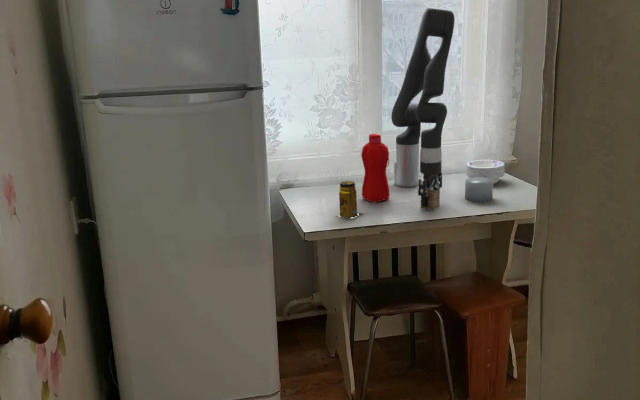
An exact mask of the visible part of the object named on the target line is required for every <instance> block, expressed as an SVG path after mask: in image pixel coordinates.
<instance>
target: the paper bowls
mask: <svg viewBox="0 0 640 400" xmlns="http://www.w3.org/2000/svg"><path fill="white" fill-rule="evenodd" d="M465 167H466V169H465V171H466V172H465V174H466V176H467V177H468V178H476V177H480V178H488V179H491V180H493V185H494V184H497V183H498V182H499V181H500V178H502V177H504V176H505V173H506V172H505V170H506V169H505V167H506V164H505V162H502V161H501V160H496V159H479V160H478V159H477V160H476V159H475V160H471V161H468V162H466V164H465Z"/></svg>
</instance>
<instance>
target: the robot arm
mask: <svg viewBox="0 0 640 400" xmlns="http://www.w3.org/2000/svg"><path fill="white" fill-rule="evenodd" d="M455 19H456V17H455V13H454V12H453V11H452V10H449V9H442V8H441V9H440V8H432V7H430V8H429V7H428V8H426V9H424V11H423V13H422V16H421V19H420V23H419V27H418V32H417V36H416V40H415V43H414V47H413V51H412V54H411V56H410V60H409V62H408V65H407V68H406V71H405V75H404V78H403V82H402V85H401V89H400V91H399V94H398V96H397V97H396V100H395V102H394V105H393V107H392V111H391V122H392V124H393V126H394V127H397V128H406V129H405V131H403V132H402V133H400V134H398V135H397V136H396V138H395V161H394V162H393V177H394V178H393V184H394V185H397V186H399V187H404V188H405V187H406V188H409V187H417V186H418V189H417V190H418V191H417V194H418V196H420V197H421V196H422V206H423V207H427V206H428V195H429V192H430V191H431V189H433V190H440V191H441V188H443V172H442V165H443V164H442V163H443V161H442V160H443V159H442V156H443V153H442V134H443V130H444V129H443V128H444V125H445V121H446V118H447V114H448V108H447V106H446V104H445V103H443V102H430V100H432V99H434V98H438V97H440V96H442V95H444V88H445V78H446V77H445V76H446V69H447V68H446V67H447V62H448V58H449V55H450V54H449V53H450V48H451V44H452V39H453V35H454V28H455V24H456V23H455ZM429 37H435V38H441V41H440V45H439V48H438V49H437V51H436V53H435V54H434V55H433V56H432V55H431V53H430V52H429V47H428V45H427V41H428V38H429ZM421 92H422V93H421ZM420 93H421V96H420V99H419V101H418V103H417V102H412V101H413V100H414V99H415V98H416V97H417V96H418V95H419V94H420ZM422 123H423V124H435V126H434V127H433V128H428V129H423V130H422V128H421V126H422ZM421 130H422V131H421ZM420 173H421V174H423V178H420ZM426 191H427V192H426Z"/></svg>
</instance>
